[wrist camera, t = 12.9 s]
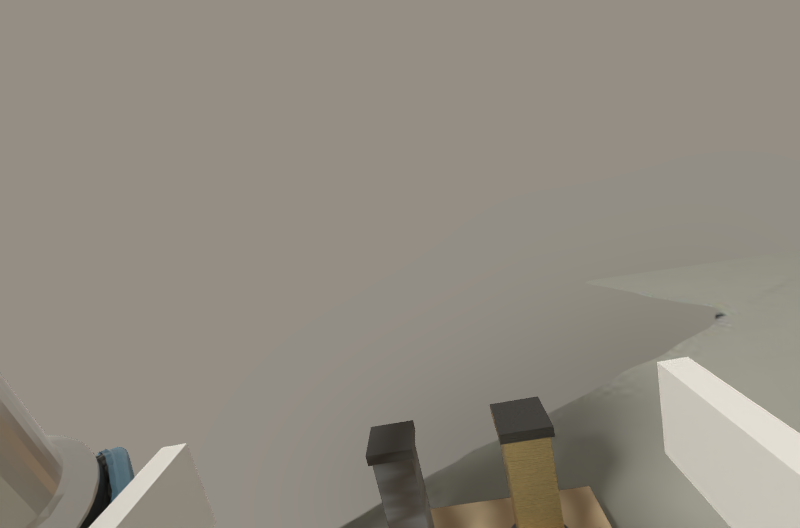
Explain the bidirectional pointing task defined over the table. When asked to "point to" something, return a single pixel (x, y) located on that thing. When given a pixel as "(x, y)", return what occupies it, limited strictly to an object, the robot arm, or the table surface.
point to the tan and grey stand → (460, 524)
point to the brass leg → (529, 462)
